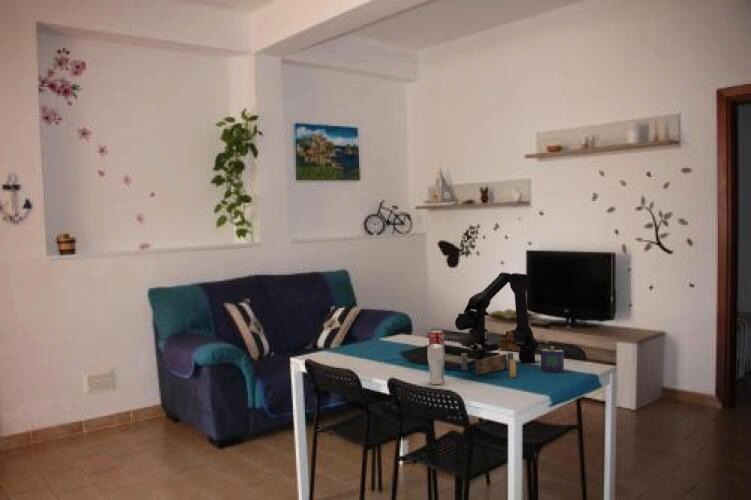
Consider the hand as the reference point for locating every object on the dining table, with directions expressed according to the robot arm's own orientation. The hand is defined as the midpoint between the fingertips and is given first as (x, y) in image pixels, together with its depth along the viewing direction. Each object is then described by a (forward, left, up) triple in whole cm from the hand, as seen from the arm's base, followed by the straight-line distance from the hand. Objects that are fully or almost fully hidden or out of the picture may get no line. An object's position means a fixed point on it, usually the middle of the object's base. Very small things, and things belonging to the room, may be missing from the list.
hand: (478, 363), depth 263 cm
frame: (-4, 0, -4) cm, 6 cm away
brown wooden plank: (-6, -1, -4) cm, 7 cm away
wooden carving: (-19, -36, -4) cm, 41 cm away
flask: (-30, -1, -4) cm, 31 cm away
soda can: (+18, -27, -4) cm, 33 cm away
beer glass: (+18, +13, -4) cm, 22 cm away
